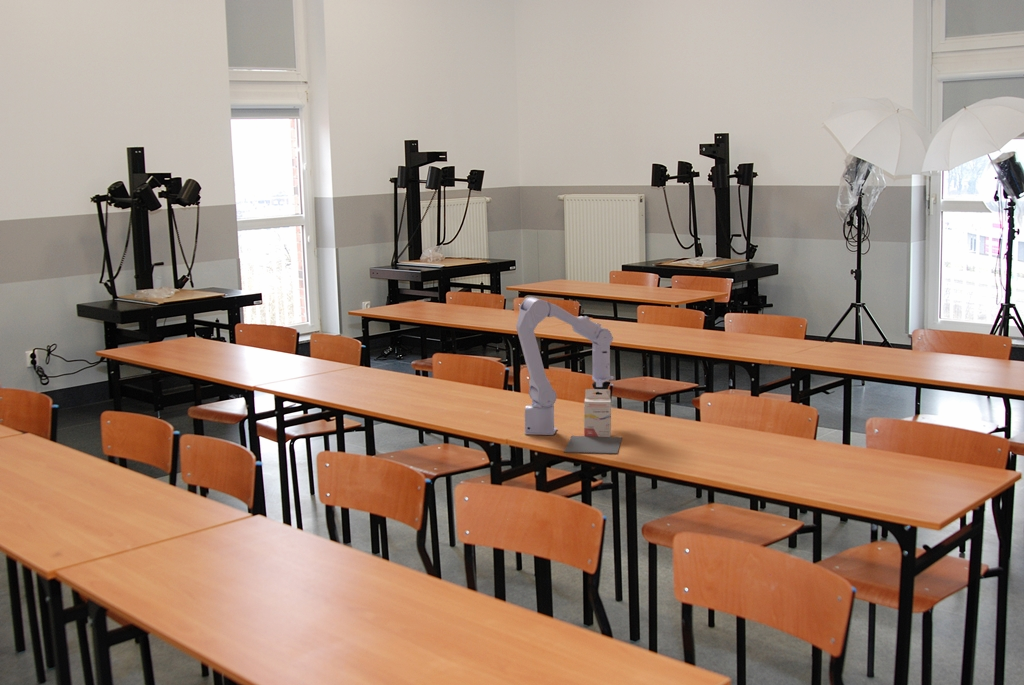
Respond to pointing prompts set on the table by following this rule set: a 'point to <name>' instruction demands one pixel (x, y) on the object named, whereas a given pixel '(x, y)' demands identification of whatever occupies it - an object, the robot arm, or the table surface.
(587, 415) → the ink cartridge box
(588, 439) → the mat
